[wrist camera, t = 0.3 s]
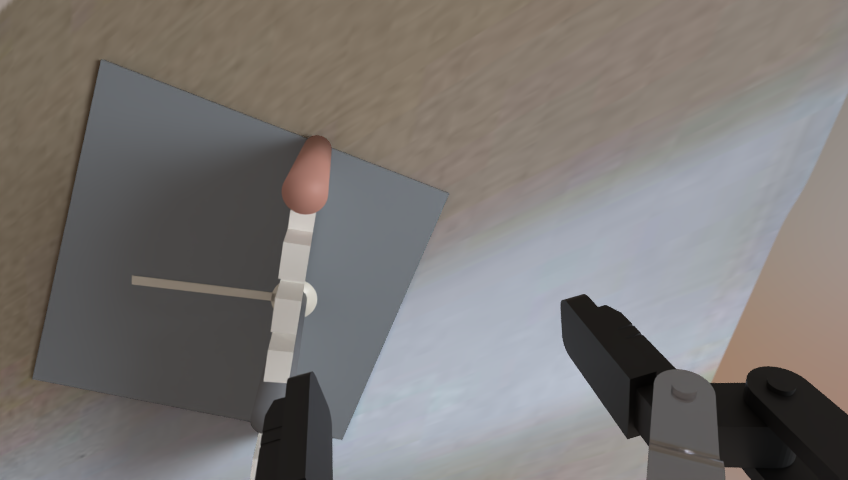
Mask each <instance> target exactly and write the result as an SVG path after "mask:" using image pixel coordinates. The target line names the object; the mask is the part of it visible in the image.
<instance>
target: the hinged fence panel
mask: <svg viewBox="0 0 848 480" xmlns="http://www.w3.org/2000/svg"><path fill="white" fill-rule="evenodd" d="M331 153H332V148H331V144H330V143H329V141H328V140H327V139H326V138H324V137H322V136H318V135H316V136H312V137H310V138H308V139H307V140H306V141H305V143H304V145H303V147H302V149H301V151H300V153H299V155H298V156H297V158H296V160H295V162H294V164H293V166H292V168H291V170H290V172H289V174H288V175H287V177H286V179H285V181H284V183H283V186H282V197H283V200H284V202H285V204H286V205H287V206H288V207H289V208H290V209H291V210H290V217H289V224H288V230H287V232H286V235H285V238H284V241H283V248H282V255H281V262H280V269H279V276H278V279H281V280H280V283H279V287H278V290H277V294H276V297H275V304H274V311H273V318H272V325H271V332H272V336H271V340H270V344H269V348H268V353H267V360H266V367H265V374H264V382H277V383H287V379H288V378H289V377H290V371H291V365H292V359H293V352H294V346H295V340H296V334H297V328H298V321H299V315H300V309H301V303H302V297H303V291H304V284H305V278H306V272H307V266H308V260H309V253H310V247H311V241H312V235H313V229H314V222H315V216H316V212H317V211H319V210H320V209H322V208H323V206H324V205H325V204H326V202H327V199H328V190H329V178H330V165H331Z"/></svg>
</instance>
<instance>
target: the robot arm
mask: <svg viewBox="0 0 848 480" xmlns="http://www.w3.org/2000/svg"><path fill="white" fill-rule="evenodd" d="M561 323H562V338H563V343H564V346H565V348H566V351H567V353H568V355H569V356H570V358H571V359H572V361H573V362H574V363H575V365H576V366H577V368H578V369H579V371H580V372H581V373H582V375H583V376H584V378H585V379H586V381H587V382H588V383H589V385H590V386H591V388H592V389H593V391H594V392H595V393H596V395H597V396H598V398H599V399H600V401H601V402H602V403H603V405H604V406H605V408H606V409H607V411H608V412H609V413H610V415H611V416H612V418H613V419H614V421H615V422H616V423H617V425H618V426H619V428H620V429H621V431H622V432H623V433H624V435H625V436H626V438H627V439H630V438H633V437H636V436H640V435H641V437H642V438H643V439H644V441H645V442H646V443H647V445H648V446H649V453H648V466H647V480H725V468H724V467H739V468H742V469H743V470H744V471H745V473H746V474H747V475H748V476H749V478H750V479H751V480H848V415H847V414H846V413H845V412H844V411H843V410H841V409H840V408H839V407H838V406H837V405H835V404H834V403H833V402H832V401H831V400H830V399H828V398H827V397H826V396H825V395H824V394H822V393H821V392H820V391H819V390H818V389H816V388H815V387H814V386H813V385H812V384H810V383H809V382H808V381H807V380H806V379H804V378H803V377H801V376H799V375H798V374H796V373H794V372H792V371H789V370H786V369H782V368H778V367H769V366H767V367H759V368H756V369H753V370H752V371H750V372H749V373H748V375H747V379H746V383H709V382H708V381H707V380H706V379H704V378H703V377H701V376H700V375H698V374H696V373H693V372H690V371H686V370H680V369H676V368H675V367H674V366H673V365H672V364H671V363H670V362H669V361H668V360H667V359H666V358H665V357H664V356H663V355H662V354H661V353H660V352H659V351H658V350H657V349H656V348H655V347H654V346H653V345H652V344H651V343H650V342H649V341H648V340H647V339H646V338H645V337H644V336H643V335H641V333H640V332H639V330H638V329H637V328H636V327H635V326H632V323H631V322H630V321H629V320H628V319H627V318H626V317H625V316H624V315H623V314H622V313H621V312H619V311H617V310H615V309H613V308H611V307H609V306H607V305H604V306H601V307H597V306H596V305H595V303H594V302H593V301H592V300H591V299H590V298H589V297H588V296H587V295H585V294H582V295H579V296H575V297H572V298H568V299H565V300H562V301H561ZM262 432H263V434H262V436H261V443H260V445H261V448H260V449H259V456H258V462H257V468H256V475H255V480H333V469H332V420H331V414H330V410H329V407H328V404H327V402H326V399H325V397H324V394H323V392H322V390H321V387H320V385H319V383H318V380H317V378H316V376H315V374H314V372H313V371H311V372H308V373H304V374H300V375H297V376H293V377H290V378H288V379H287V384H286V393H285V397H283V398H280V399H276V400H274V401H273V402H272V404H271V406H270V408H269V409H268V411H267V413H266V415H265V417H264V424H263V430H262Z"/></svg>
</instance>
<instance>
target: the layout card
mask: <svg viewBox="0 0 848 480" xmlns="http://www.w3.org/2000/svg"><path fill="white" fill-rule="evenodd" d="M307 139H308V138H305V137H303V136H300V135H298V134H295V133H292V132H290V131H287V130H285V129H282V128H279V127H277V126H274V125H272V124H269V123H267V122H264V121H261V120H259V119H256V118H254V117H251V116H248V115H246V114H243V113H241V112H238V111H235V110H233V109H230V108H228V107H225V106H223V105H220V104H217V103H215V102H212V101H210V100H207V99H204V98H202V97H199V96H197V95H194V94H192V93H189V92H186V91H184V90H181V89H179V88H176V87H173V86H171V85H168V84H166V83H163V82H160V81H158V80H155V79H153V78H150V77H148V76H145V75H142V74H140V73H137V72H135V71H132V70H129V69H127V68H124V67H122V66H119V65H117V64H114V63H111V62H109V61H106V60H102V59H101V62H100V67H99V72H98V76H97V81H96V86H95V90H94V95H93V100H92V104H91V109H90V114H89V118H88V123H87V128H86V132H85V137H84V141H83V146H82V151H81V155H80V160H79V165H78V169H77V174H76V179H75V183H74V188H73V193H72V197H71V202H70V206H69V211H68V216H67V220H66V225H65V230H64V234H63V239H62V244H61V248H60V253H59V258H58V262H57V267H56V272H55V276H54V281H53V285H52V290H51V295H50V299H49V304H48V309H47V313H46V318H45V323H44V327H43V332H42V337H41V341H40V346H39V351H38V355H37V360H36V364H35V369H34V374H33V378H32V379H35V380H40V381H45V382H50V383H55V384H60V385H65V386H70V387H76V388H81V389H86V390H91V391H96V392H101V393H106V394H111V395H116V396H121V397H127V398H132V399H137V400H142V401H147V402H152V403H157V404H162V405H167V406H172V407H178V408H183V409H188V410H193V411H198V412H203V413H208V414H213V415H218V416H223V417H229V418H234V419H239V420H244V421H249V422H251V421H250V419H251V414H252V411H253V407H254V403H255V399H256V395H257V391H258V387H259V383H260V379H261V376H262V372H263V368H264V364H265V360H266V356H267V352H268V348H269V344H270V340H271V336H272V332H271V325H272V318H273V311H274V304H275V297H276V294H277V290H278V287H279V283H280V280H281V279H278V276H279V269H280V262H281V255H282V248H283V241H284V238H285V235H286V232H287V230H288V224H289V217H290V210H291V209H290V208H289V207H288V206H287V205H286V204H285V202H284V200H283V197H282V186H283V183H284V181H285V179H286V177H287V175H288V174H289V172H290V170H291V168H292V166H293V164H294V162H295V160H296V158H297V156H298V155H299V153H300V151H301V149H302V147H303V145H304V143H305V141H306V140H307ZM448 195H449V193H448V192H445V191H442V190H440V189H437V188H435V187H432V186H429V185H427V184H424V183H422V182H419V181H417V180H414V179H411V178H409V177H406V176H404V175H401V174H398V173H396V172H393V171H391V170H388V169H386V168H383V167H380V166H378V165H375V164H373V163H370V162H367V161H365V160H362V159H360V158H357V157H354V156H352V155H349V154H347V153H344V152H342V151H339V150H336V149H334V148H332V153H331V165H330V178H329V190H328V199H327V202H326V204H325V205H324V206H323V208H322V209H320V210H319V211H317V212H316V216H315V222H314V229H313V235H312V241H311V247H310V253H309V260H308V266H307V272H306V278H305V284H304V291H303V292H304V293H305V294H306V296H307V304H306V311H305V319H304V326H303V333H302V340H301V348H300V355H299V362H298V369H297V375H300V374H304V373H308V372H311V371H313V372H314V374H315V376H316V378H317V380H318V383H319V385H320V387H321V390H322V392H323V394H324V397H325V399H326V402H327V404H328V407H329V410H330V414H331V420H332V438H336V439H341V440H342V439H343V437H344V434H345V432H346V430H347V428H348V425H349V423H350V421H351V418H352V416H353V414H354V411H355V409H356V407H357V405H358V402H359V400H360V398H361V395H362V393H363V391H364V388H365V386H366V384H367V382H368V379H369V377H370V375H371V372H372V370H373V368H374V365H375V363H376V361H377V359H378V356H379V354H380V352H381V349H382V347H383V345H384V343H385V340H386V338H387V336H388V333H389V331H390V329H391V326H392V324H393V322H394V320H395V317H396V315H397V313H398V310H399V308H400V306H401V303H402V301H403V299H404V297H405V294H406V292H407V290H408V287H409V285H410V283H411V280H412V278H413V276H414V274H415V271H416V269H417V267H418V264H419V262H420V260H421V257H422V255H423V253H424V251H425V248H426V246H427V244H428V241H429V239H430V237H431V234H432V232H433V230H434V228H435V225H436V223H437V221H438V218H439V216H440V214H441V212H442V209H443V207H444V205H445V202H446V200H447V198H448Z"/></svg>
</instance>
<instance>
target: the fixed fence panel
mask: <svg viewBox="0 0 848 480" xmlns="http://www.w3.org/2000/svg"><path fill="white" fill-rule="evenodd" d="M306 304H307V296H306V294H305V293H304V292H303V297H302V303H301V309H300V315H299V321H298V328H297V334H296V340H295V346H294V352H293V359H292V365H291V371H290V377H293V376H297V369H298V362H299V355H300V348H301V340H302V333H303V326H304V319H305V311H306ZM267 353H268V352H267ZM266 360H267V356H266ZM266 360H265V364H264V368H263V372H262V376H261V379H260V383H259V387H258V391H257V395H256V399H255V403H254V407H253V411H252V414H251V419H250V421H251V425H252V427H253V428H254V429H255V430H256V431H257V432H259V434H258V438H257V443H256V447H255V452H254V456H253V462H252V469H251V476H250V480H255V475H256V468H257V462H258V456H259V449H260V448H261V445H260V443H261V436H262V434H263V432H262V430H263V424H264V417H265V415H266V413H267V411H268V409H269V408H270V406H271V404H272V402H273V401H274V400H276V399H280V398H283V397H285V393H286V384H287V383H277V382H264V374H265V367H266ZM290 377H289V378H290Z"/></svg>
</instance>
